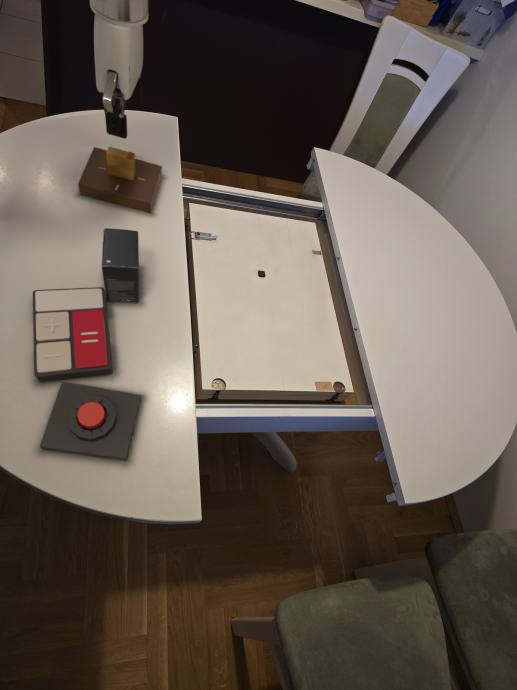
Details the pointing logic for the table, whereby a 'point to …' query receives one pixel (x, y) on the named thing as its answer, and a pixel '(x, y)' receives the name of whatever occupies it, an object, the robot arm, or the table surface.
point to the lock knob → (121, 163)
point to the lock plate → (120, 183)
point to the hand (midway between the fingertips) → (124, 117)
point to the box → (121, 265)
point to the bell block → (102, 440)
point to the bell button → (91, 415)
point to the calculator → (71, 334)
